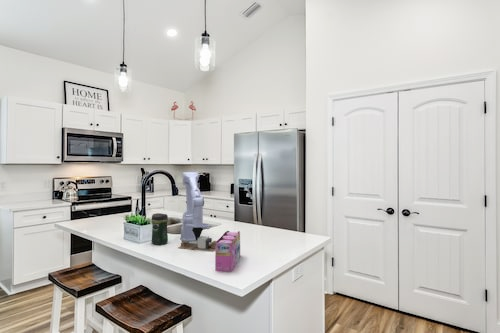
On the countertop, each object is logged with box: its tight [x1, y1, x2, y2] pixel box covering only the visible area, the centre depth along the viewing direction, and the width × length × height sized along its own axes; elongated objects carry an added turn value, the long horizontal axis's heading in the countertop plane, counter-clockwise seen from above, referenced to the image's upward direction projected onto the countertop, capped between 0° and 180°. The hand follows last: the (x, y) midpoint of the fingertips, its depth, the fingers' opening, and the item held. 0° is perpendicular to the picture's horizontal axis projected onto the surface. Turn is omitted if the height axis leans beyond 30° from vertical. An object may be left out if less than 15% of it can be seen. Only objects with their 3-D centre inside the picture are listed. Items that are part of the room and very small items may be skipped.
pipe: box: [181, 240, 213, 246], centre depth 170 cm, size 21×2×2 cm, turn 76°
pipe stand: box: [177, 240, 217, 252], centre depth 170 cm, size 22×9×4 cm, turn 76°
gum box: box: [214, 230, 241, 272], centre depth 146 cm, size 24×8×14 cm, turn 171°
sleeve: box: [198, 235, 210, 249], centre depth 170 cm, size 5×5×6 cm
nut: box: [206, 237, 213, 249], centre depth 169 cm, size 2×5×5 cm, turn 166°
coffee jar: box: [151, 212, 169, 246], centre depth 179 cm, size 10×8×19 cm
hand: (197, 240), depth 170 cm, fingers closed
